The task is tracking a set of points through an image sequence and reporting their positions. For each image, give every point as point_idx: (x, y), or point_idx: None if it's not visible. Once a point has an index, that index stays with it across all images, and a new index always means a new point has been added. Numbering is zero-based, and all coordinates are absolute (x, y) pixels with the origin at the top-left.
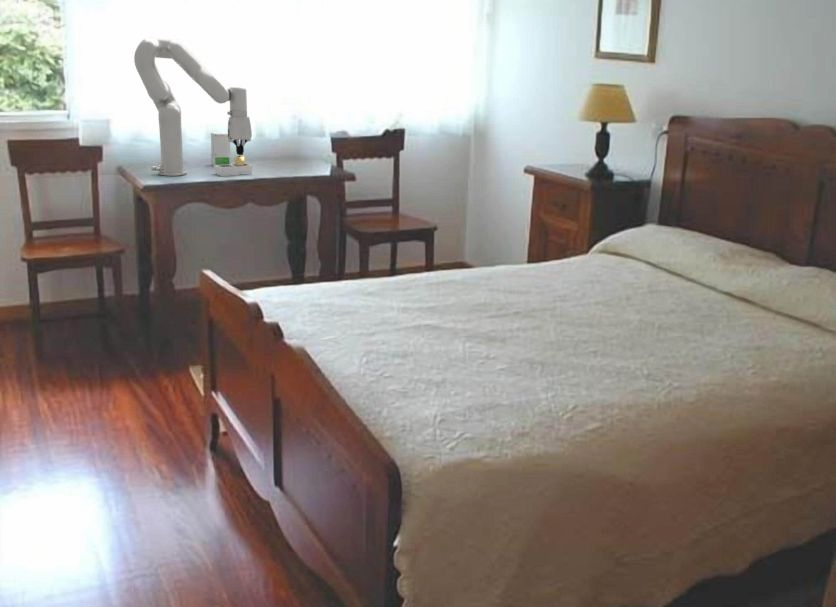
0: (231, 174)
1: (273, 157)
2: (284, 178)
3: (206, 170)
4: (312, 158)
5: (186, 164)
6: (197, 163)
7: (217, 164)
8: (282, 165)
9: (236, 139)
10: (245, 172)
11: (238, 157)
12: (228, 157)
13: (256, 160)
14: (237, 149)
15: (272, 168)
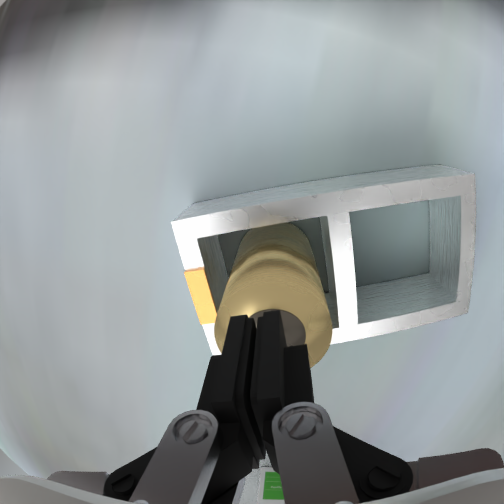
0: (366, 175)
1: None
2: (44, 22)
3: (417, 395)
4: (15, 448)
5: None
6: None
7: None
8: (51, 410)
9: (407, 497)
10: (243, 195)
11: (300, 285)
12: (267, 498)
13: None
14: (310, 376)
15: (73, 371)
